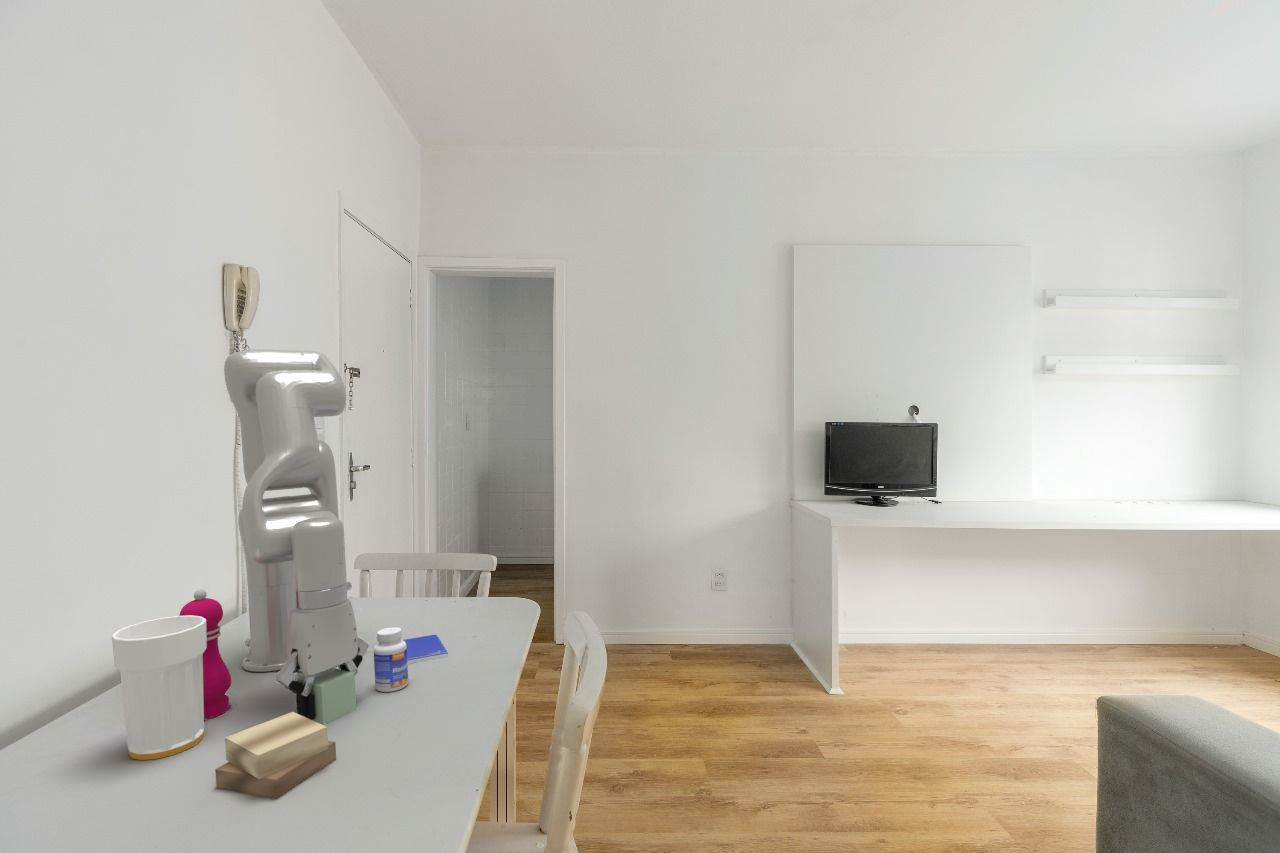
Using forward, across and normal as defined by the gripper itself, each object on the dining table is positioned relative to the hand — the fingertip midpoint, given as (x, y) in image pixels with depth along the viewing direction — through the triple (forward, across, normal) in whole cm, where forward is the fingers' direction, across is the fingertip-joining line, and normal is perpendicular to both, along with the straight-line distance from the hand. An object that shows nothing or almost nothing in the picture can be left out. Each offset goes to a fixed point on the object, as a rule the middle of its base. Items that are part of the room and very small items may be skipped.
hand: (327, 707), depth 111 cm
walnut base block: (+1, +15, +10) cm, 18 cm away
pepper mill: (+1, +8, -19) cm, 21 cm away
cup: (+1, +17, -13) cm, 21 cm away
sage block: (+1, 0, 0) cm, 1 cm away
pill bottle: (+1, -12, +1) cm, 12 cm away
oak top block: (-2, +15, +10) cm, 18 cm away
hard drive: (+2, -27, -8) cm, 28 cm away
